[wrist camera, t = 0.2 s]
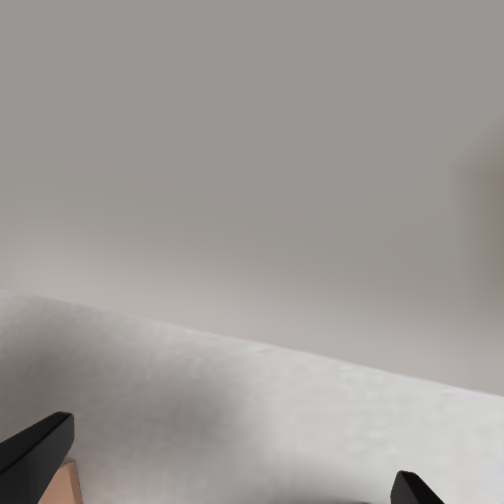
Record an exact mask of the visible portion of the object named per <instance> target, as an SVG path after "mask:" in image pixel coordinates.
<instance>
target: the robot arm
mask: <svg viewBox="0 0 504 504" xmlns="http://www.w3.org/2000/svg"><path fill="white" fill-rule="evenodd" d="M73 441H74V415H73V414H72V413H68V412H62V411H59V412H56V413H54V414H52V415H50V416H48V417H46V418H45V419H43V420H41V421H39V422H37V423H36V424H34V425H32V426H30V427H28V428H27V429H25V430H23V431H21V432H19V433H18V434H16V435H14V436H12V437H10V438H9V439H7V440H5V441H3V442H1V443H0V504H38V503H39V501H40V499H41V497H42V496H43V494H44V492H45V491H46V489H47V487H48V485H49V484H50V482H51V480H52V479H53V477H54V475H55V474H56V472H57V470H58V468H59V467H60V465H61V463H62V462H63V460H64V458H65V456H66V455H67V453H68V451H69V450H70V448H71V446H72V444H73ZM390 497H391V504H445V503H444V502H443V501H442V500H441V499H440V498H439V497H438V496H437V495H436V494H435V493H434V492H433V491H432V490H431V489H430V488H429V487H428V485H427V484H426V483H425V482H424V481H423V480H422V479H421V478H420V477H419V476H418V475H417V474H415V473H413V472H408V471H403V470H400V471H399V472H398V473H397V475H396V478H395V481H394V484H393V487H392V490H391V496H390Z"/></svg>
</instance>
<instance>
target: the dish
mask: <svg viewBox="0 0 504 504" xmlns="http://www.w3.org/2000/svg"><path fill="white" fill-rule="evenodd" d="M38 504H83V503H82V497H81V491H80V485H79V480H78V474H77V468H76V462H75V460H74V461H72V462H70V463H68V464H65V465H63V466H61V467H59V468H58V470H57V472H56V474H55V475H54V477H53V479H52V480H51V482H50V484H49V485H48V487H47V489H46V491H45V492H44V494H43V496H42V497H41V499H40V501H39V503H38Z"/></svg>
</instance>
